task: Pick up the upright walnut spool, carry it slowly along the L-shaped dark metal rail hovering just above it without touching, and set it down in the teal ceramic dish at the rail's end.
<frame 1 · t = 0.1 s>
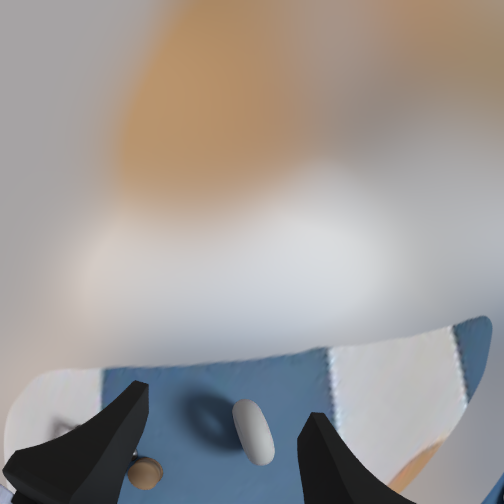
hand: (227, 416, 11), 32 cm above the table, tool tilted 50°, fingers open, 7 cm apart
spool: (148, 470, 31), on the table
donut: (246, 430, 38), on the table
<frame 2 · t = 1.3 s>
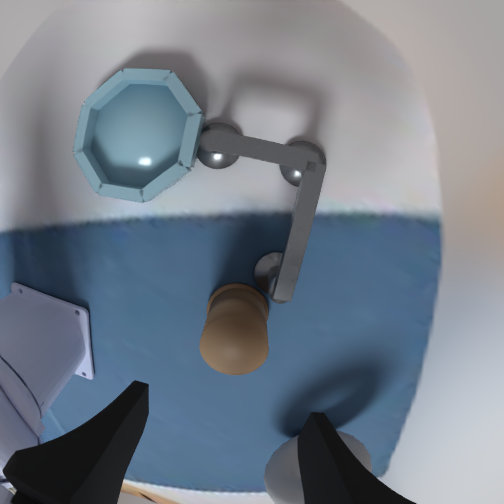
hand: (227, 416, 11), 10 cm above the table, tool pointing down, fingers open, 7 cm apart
dish: (140, 134, 18), on the table
spool: (237, 310, 21), on the table
donut: (310, 432, 25), on the table
bent rail: (302, 164, 18), on the table
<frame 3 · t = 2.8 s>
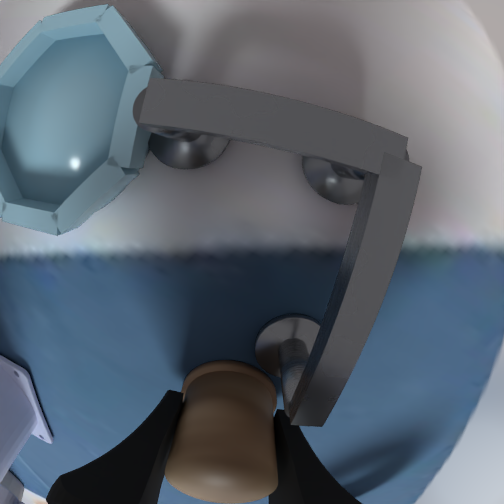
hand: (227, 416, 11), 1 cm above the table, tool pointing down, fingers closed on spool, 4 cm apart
dish: (65, 117, 9), on the table
spool: (229, 395, 13), on the table, touching gripper
potted plant: (2, 467, 20), on the table
bent rail: (343, 161, 10), on the table
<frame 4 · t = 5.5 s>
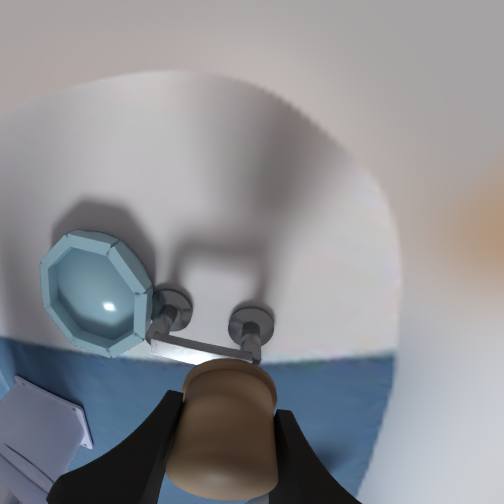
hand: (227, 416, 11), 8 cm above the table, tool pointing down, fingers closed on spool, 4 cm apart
dish: (99, 290, 19), on the table
spool: (229, 393, 13), point 7 cm above the table, touching gripper
donut: (274, 490, 26), on the table
bent rail: (251, 326, 19), on the table
when the fingers open (3 cm above the table, at t = 8.1 s): spool stays where it is, resting on dish.
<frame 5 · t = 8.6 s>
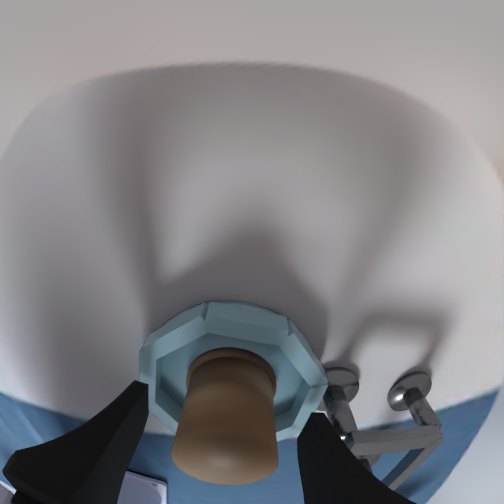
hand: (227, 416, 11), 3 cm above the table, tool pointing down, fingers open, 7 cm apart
dish: (231, 375, 14), on the table
spool: (231, 382, 13), point 1 cm above the table, touching dish
bent rail: (408, 390, 15), on the table
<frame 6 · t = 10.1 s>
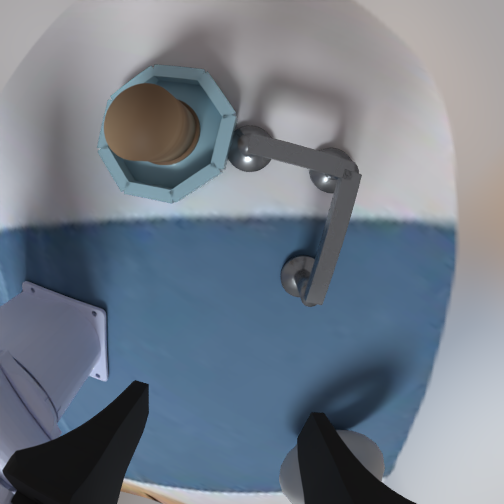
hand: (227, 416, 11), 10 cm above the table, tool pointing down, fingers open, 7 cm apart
dish: (169, 133, 18), on the table
spool: (167, 132, 17), point 1 cm above the table, touching dish
donut: (323, 432, 26), on the table
bent rail: (331, 170, 18), on the table
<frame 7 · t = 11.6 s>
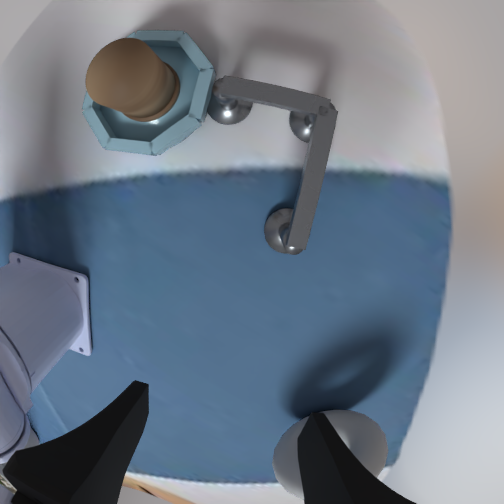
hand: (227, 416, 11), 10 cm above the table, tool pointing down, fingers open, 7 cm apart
dish: (151, 93, 17), on the table
spool: (148, 91, 16), point 1 cm above the table, touching dish
donut: (320, 413, 25), on the table
potted plant: (19, 423, 28), on the table
bent rail: (311, 121, 18), on the table
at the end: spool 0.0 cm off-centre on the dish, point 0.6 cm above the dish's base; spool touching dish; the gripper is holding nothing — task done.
